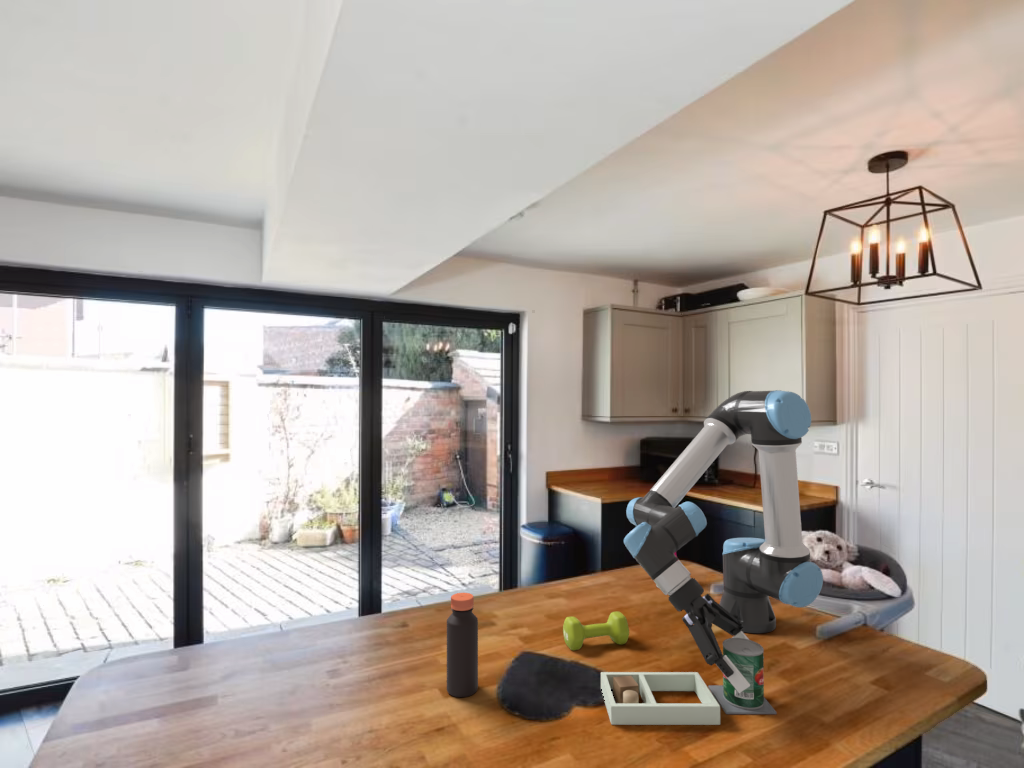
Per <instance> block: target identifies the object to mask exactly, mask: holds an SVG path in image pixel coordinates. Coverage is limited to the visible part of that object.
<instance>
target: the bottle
mask: <svg viewBox="0 0 1024 768" xmlns="http://www.w3.org/2000/svg"><path fill="white" fill-rule="evenodd" d="M474 599H475V598H474V595H473V594H472V593H470V592H457V593H454V594H453V595H451V597H450V607H451V608H450V609H451V610H450V611H452V613H451V614H450V615H449V617H447V619H446V691H447V693H448V694H449V695H451V696H452V697H455V698H467V697H470V696H472V695H474V694H475V693H476V692H477V691H478V687H479V620H478V617H477V615H475V613H474V612H473V610H474V607H475V606H474V603H475V602H474Z"/></svg>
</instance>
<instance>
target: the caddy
mask: <svg viewBox="0 0 1024 768" xmlns="http://www.w3.org/2000/svg"><path fill="white" fill-rule="evenodd" d="M622 676H632V677H633V679H634V680H635V681H636V683H637V684H638V685H639V695H640V697H641V700H642V703H617V702H616V699H615V698H614V696H613V691H611V689H613V677H622ZM601 689H602V691H601V694H602V693H603V694H602V697H603V696H604V698H603V701H604V700H605V701H604V704H605V708H606V711H607V714H608V718H609V722H610V724H611V726H612V725H614V726H615V725H616V726H617V725H620V726H621V725H626V726H627V725H628V726H630V725H631V726H635V725H637V726H640V725H641V726H642V725H644V726H645V725H646V726H648V725H649V726H651V725H653V726H655V725H656V726H657V725H658V726H664V725H666V726H671V725H672V726H673V725H675V726H678V725H681V726H683V725H684V726H685V725H686V726H687V725H689V726H690V725H691V726H693V725H694V726H696V725H697V726H699V725H700V726H703V725H705V726H709V725H710V726H711V725H713V726H714V725H715V726H719V725H721V705H720V704H719V702H718V701H717V699H716V698H715V696H714V695H713V693H712V692H711V690H710V689H709V687H708V686H707V684H706V683H705V681H704V680H703V678H702V676H701V675H700V674H699V672H698V671H697V672H696V671H694V672H693V671H688V672H687V671H685V672H684V671H681V672H680V671H673V672H671V671H662V672H661V671H655V672H653V671H650V672H649V671H636V672H635V671H630V672H629V671H601V672H600V690H601ZM653 692H695V694H696V696H697V697H698V699H699V701H700V702H701V703H696V702H695V703H694V702H693V703H683V702H682V703H681V702H680V703H678V702H677V703H675V702H674V703H672V702H671V703H667V702H666V703H664V702H663V703H658V702H657V701H656V699H655V696H654V695H653Z"/></svg>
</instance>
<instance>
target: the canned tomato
mask: <svg viewBox="0 0 1024 768" xmlns="http://www.w3.org/2000/svg"><path fill="white" fill-rule="evenodd" d="M748 639H749V638H748ZM748 639H744V638H732V637H729V638H726V639H724V640H723V641H722V654H723V656H725V655H726V656H727V657H728V658H729V659H730V661H731V662H732V663H733V664H734V665H735V667H736V668H737V669H738V670H739V672H740V673H741V674H742V675H743V676H744V678H745V679H746V680H747V681H748V683H749V684H750V687H748V688H747V689H745V690H744V691H742V692H741V693H739V692H738V691H737V690H736V689H735V687H734V686H733V685H732V684H731V682H730V681H729V680H728V679H727V678H726V676H725V675H724V674H723V673H722V685H723V697H724V699H725V700H726V701H727V702H728V703H730V704H731V705H733V706H736V707H738V708H742V709H748V710H755V709H759V708H761V707H763V705H764V698H765V693H764V692H765V689H764V688H765V687H764V686H765V684H764V681H765V680H764V679H765V677H764V671H765V670H764V667H765V665H764V661H765V660H764V659H765V657H763V656H764V651H765V650H764V646H762V644H760V643H758V642H756V641H754V640H751V639H749V640H748Z"/></svg>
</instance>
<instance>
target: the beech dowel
mask: <svg viewBox="0 0 1024 768" xmlns="http://www.w3.org/2000/svg"><path fill="white" fill-rule="evenodd" d="M623 703H638V693H637V692H636V691H633V690H626V691H624V692H623Z"/></svg>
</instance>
